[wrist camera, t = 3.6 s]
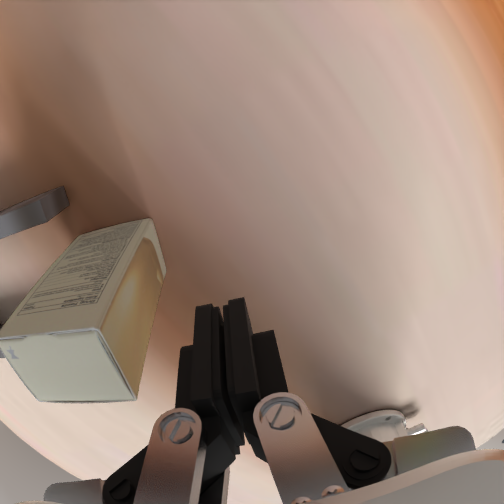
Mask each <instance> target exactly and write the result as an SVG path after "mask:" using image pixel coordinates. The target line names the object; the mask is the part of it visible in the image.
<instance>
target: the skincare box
mask: <svg viewBox="0 0 504 504" xmlns="http://www.w3.org/2000/svg"><path fill="white" fill-rule="evenodd" d="M165 274H166V266H165V262H164V259H163V255H162V251H161V247H160V244H159V240H158V237H157V233H156V230H155V226H154V223H153V220H152V219H150V218H147V219H142V220H137V221H132V222H127V223H123V224H118V225H114V226H110V227H106V228H103V229H99V230H95V231H92V232H88V233H85V234H82V235H79V236H78V237H77V238H76V239H75V240H74V241H73V242H72V243H71V244H70V245H69V246H68V248H67V249H66V250H65V251H64V252H63V253H62V254H61V255H60V256H59V258H58V259H57V260H56V261H55V262H54V263H53V264H52V265H51V267H50V268H49V269H48V270H47V271H46V273H45V274H44V275H43V276H42V277H41V278H40V280H39V281H38V282H37V283H36V284H35V286H34V287H33V288H32V289H31V290H30V292H29V293H28V294H27V295H26V297H25V298H24V299H23V301H22V302H21V303H20V304H19V306H18V307H17V308H16V309H15V311H14V312H13V314H12V315H11V316H10V317H9V319H8V320H7V322H6V323H5V324H4V326H3V327H2V329H1V330H0V350H1V351H2V353H3V355H4V356H5V358H6V359H7V361H8V362H9V364H10V365H11V367H12V368H13V369H14V371H15V372H16V374H17V375H18V377H19V378H20V379H21V381H22V382H23V383H24V385H25V386H26V387H27V388H28V390H29V391H30V392H31V393H32V394H33V396H34V397H35V398H36V399H37V400H38V401H40V402H54V403H109V402H122V401H135V400H137V396H138V391H139V385H140V380H141V376H142V371H143V366H144V361H145V357H146V352H147V348H148V343H149V338H150V334H151V329H152V325H153V321H154V317H155V313H156V309H157V305H158V301H159V297H160V292H161V289H162V285H163V281H164V278H165Z"/></svg>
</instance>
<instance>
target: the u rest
mask: <svg viewBox="0 0 504 504" xmlns="http://www.w3.org/2000/svg"><path fill="white" fill-rule="evenodd" d="M67 206H69V202H68V199H67V196H66V193H65V189H64V186H61V187H58V188H56V189H53V190H50V191H48V192H45V193H43V194H40V195H38V196H35V197H33V198H30V199H28V200H26V201H23V202H21V203H18V204H16V205H14V206H11V207H9V208H7V209H5V210H2V211H0V239H2V238H4V237H7V236H9V235H12V234H15V233H17V232H20V231H23V230H26V229H28V228H31V227H34V226H37V225H40V224H43V223H45V222H48V221H49V220H50V219H52V218H53V217H54V216H55V215H57V214H58V213H59V212H61V211H62V210H63V209H65V208H66V207H67ZM3 326H4V325H0V330H1V329H2V327H3ZM0 358H5V356H4V355H3V353H2V351H1V350H0Z"/></svg>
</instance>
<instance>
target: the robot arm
mask: <svg viewBox="0 0 504 504" xmlns="http://www.w3.org/2000/svg"><path fill="white" fill-rule="evenodd" d="M223 319H224V322H223ZM405 427H406V419H405V417H404V415H403V414H402V413H401V412H400V411H396V410H380V411H375V412H371V413H368V414H365V415H362V416H359V417H357V418H354V419H352V420H350V421H348V422H346V423H344V424H343V425H341V426H339V425H337V424H335V423H332V422H330V421H327V420H325V419H323V418H320V417H318V416H316V415H314V414H311V413H310V411H309V409H308V407H307V405H306V404H305V402H304V401H303V400H302V399H301V398H300V397H298V396H297V395H295V394H292V393H288V388H287V384H286V380H285V376H284V372H283V368H282V363H281V359H280V355H279V351H278V347H277V343H276V338H275V334H274V330H270V331H266V332H261V333H256V334H253V332H252V327H251V323H250V319H249V315H248V311H247V307H246V303H245V299H244V297H243V298H238V299H233V300H228V305H224V306H223V318H222V315H221V312H220V309H219V307H213V305H212V304H207V305H202V306H197V307H196V310H195V324H194V339H193V345H190V346H184V347H182V348H181V350H180V358H179V368H178V379H177V391H176V404H175V409H172V410H169V411H167V412H165V413H164V414H162V415H161V416H160V417H159V418H158V419H157V420H156V422H155V424H154V427H153V430H152V434H151V437H150V441H149V444H148V445H147V446H146V447H145V448H144V449H142V450H141V451H140V452H139V453H138V454H136V455H135V456H134V457H133V458H132V459H130V460H129V461H128V462H127V463H126V464H124V465H123V466H122V467H121V468H119V469H118V470H117V471H116V472H114V473H113V474H112V475H111V476H110V477H109V478H108V479H107V480H101V479H100V478H99V479H91V480H83V481H74V482H63V483H55V484H52V485H50V486H49V487H48V488H47V490H46V491H45V494H44V501H25V502H20V503H16V504H227V495H228V484H229V474H230V468H229V465H230V464H231V463H232V462H233V461H234V460H235V459H236V457H235V455H237V454H240V448H239V446H242V445H245V440H244V433H245V436H246V438H247V440H248V442H249V444H251V446H252V449H253V451H254V453H255V455H256V457H258V458H260V459H262V460H263V461H265V462H267V463H268V464H269V467H270V470H271V473H272V475H273V478H274V481H275V484H276V486H277V489H278V492H279V494H280V497H281V500H282V502H283V504H504V450H499V449H483V450H476V448H475V444H474V440H473V437H472V435H471V433H470V432H469V431H468V430H466V429H465V428H463V427H460V426H452V427H447V428H443V429H438V430H434V431H429V432H428V430H427V428H426V427H424V424H423V423H421V424H418V425H416V426H414V427H412V428H410V429H408V428H405Z"/></svg>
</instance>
